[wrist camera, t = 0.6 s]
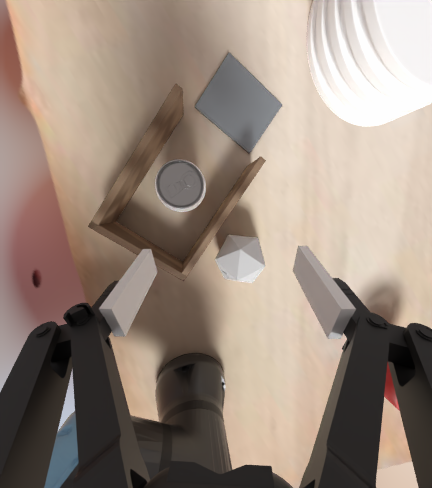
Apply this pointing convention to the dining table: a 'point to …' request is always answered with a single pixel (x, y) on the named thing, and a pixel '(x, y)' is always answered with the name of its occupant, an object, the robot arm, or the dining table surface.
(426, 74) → the plate stack
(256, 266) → the die
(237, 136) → the slate mat
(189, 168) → the can
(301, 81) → the dining table surface
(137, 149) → the walnut u-shaped enclosure
